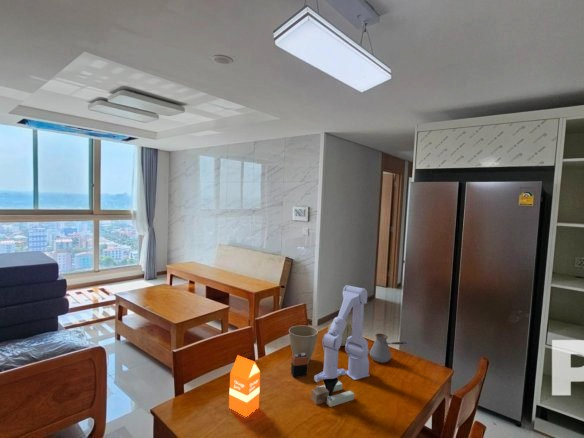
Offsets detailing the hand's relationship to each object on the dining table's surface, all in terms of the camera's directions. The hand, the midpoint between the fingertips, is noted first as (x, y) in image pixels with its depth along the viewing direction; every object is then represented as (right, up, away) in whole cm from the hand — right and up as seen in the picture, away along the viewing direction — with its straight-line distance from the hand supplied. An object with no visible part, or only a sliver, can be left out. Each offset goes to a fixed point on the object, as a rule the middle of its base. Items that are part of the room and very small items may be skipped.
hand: (329, 394), depth 132 cm
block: (-4, -1, -2) cm, 5 cm away
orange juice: (-34, -1, -9) cm, 36 cm away
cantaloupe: (+12, 0, +52) cm, 54 cm away
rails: (+2, -2, +1) cm, 3 cm away
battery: (-12, -1, +17) cm, 21 cm away
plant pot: (-10, 0, +31) cm, 33 cm away
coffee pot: (+34, -2, +32) cm, 47 cm away
